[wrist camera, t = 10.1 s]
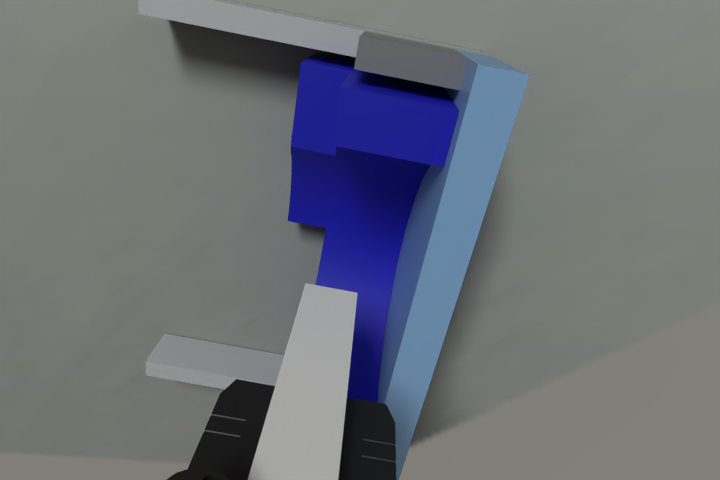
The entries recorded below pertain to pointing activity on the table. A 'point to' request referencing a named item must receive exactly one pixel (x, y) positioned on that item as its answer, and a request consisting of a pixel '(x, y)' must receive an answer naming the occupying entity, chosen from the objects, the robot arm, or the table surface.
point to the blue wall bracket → (428, 214)
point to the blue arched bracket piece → (363, 184)
